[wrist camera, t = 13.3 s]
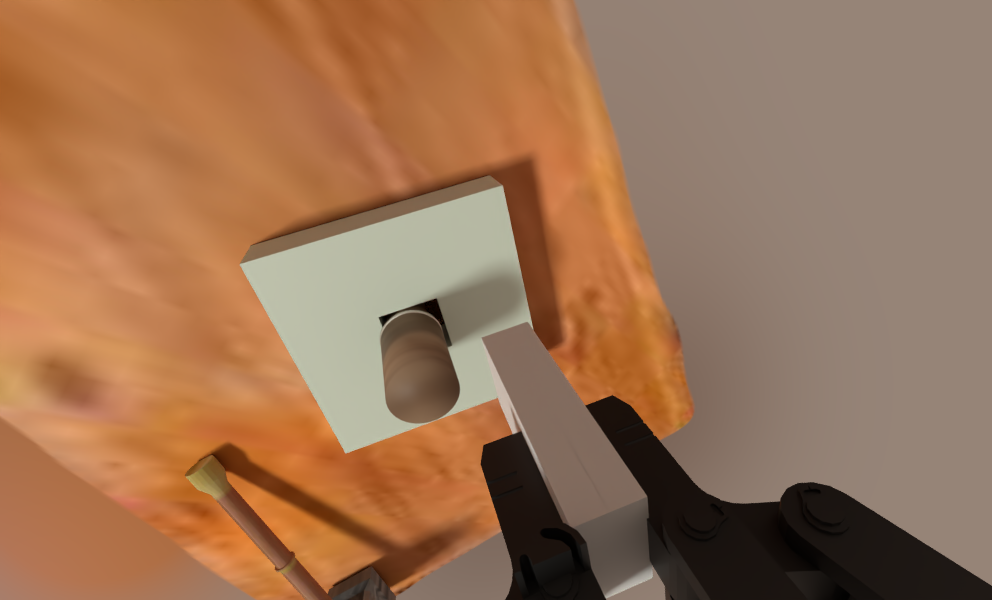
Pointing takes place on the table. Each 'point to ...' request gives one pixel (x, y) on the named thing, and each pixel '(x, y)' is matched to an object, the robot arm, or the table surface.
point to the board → (391, 297)
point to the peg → (417, 366)
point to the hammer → (356, 596)
